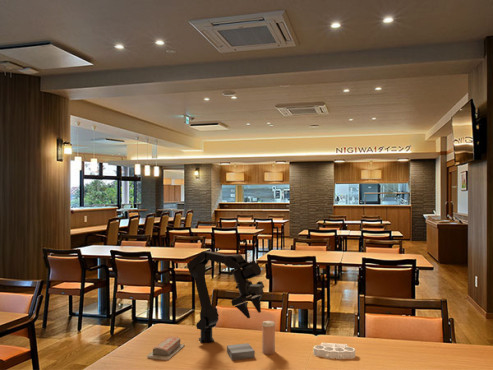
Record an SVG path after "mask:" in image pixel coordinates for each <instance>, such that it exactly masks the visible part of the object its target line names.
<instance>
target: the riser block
mask: <svg viewBox="0 0 493 370" xmlns="http://www.w3.org/2000/svg"><path fill="white" fill-rule="evenodd" d="M226 353H227V355H228V357H229V358H230V359H231V361H239V360H247V359H248V360H249V359H255V354H256V353H255V349H254V348H253V347H252V346H251V344H250V343H249V342H247V343H238V344H237V343H236V344H228V345H226Z"/></svg>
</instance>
